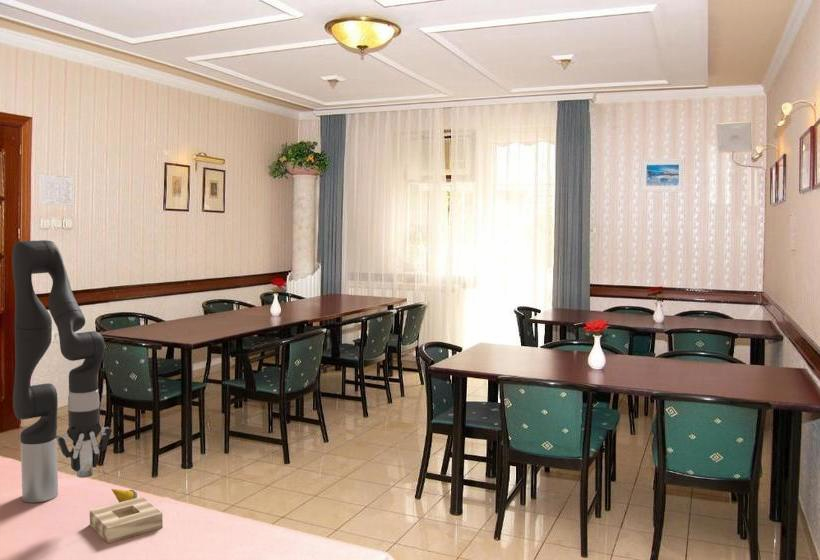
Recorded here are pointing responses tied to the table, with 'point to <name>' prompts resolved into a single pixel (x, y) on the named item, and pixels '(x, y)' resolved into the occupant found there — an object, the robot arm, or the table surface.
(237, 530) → the table surface
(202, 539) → the table surface
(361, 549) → the table surface
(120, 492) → the drill bit
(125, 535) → the socket block
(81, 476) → the pin
